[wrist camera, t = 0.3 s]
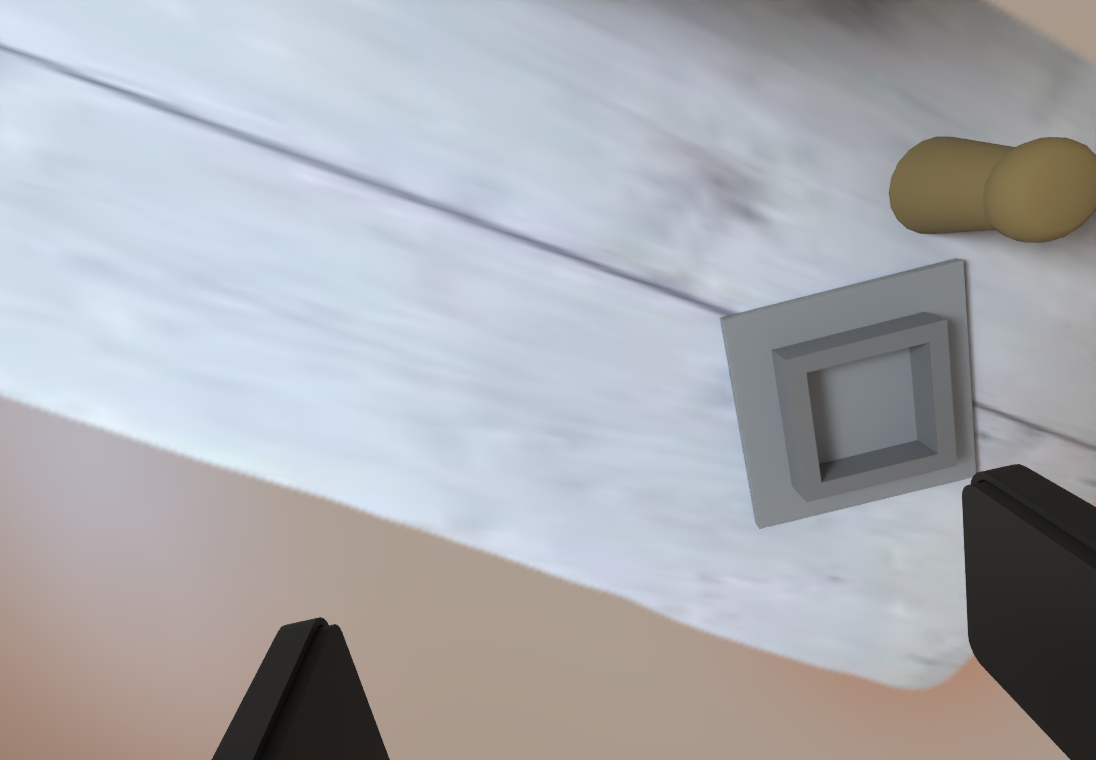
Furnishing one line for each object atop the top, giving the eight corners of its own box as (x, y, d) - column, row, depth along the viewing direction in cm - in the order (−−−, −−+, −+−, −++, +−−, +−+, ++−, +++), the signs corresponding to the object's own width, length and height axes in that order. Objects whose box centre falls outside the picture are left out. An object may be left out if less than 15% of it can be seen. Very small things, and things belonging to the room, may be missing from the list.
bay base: (720, 317, 46) (735, 329, 42) (955, 258, 45) (988, 265, 42) (755, 523, 50) (771, 547, 47) (969, 471, 50) (999, 491, 47)
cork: (904, 249, 45) (1023, 275, 34) (876, 163, 43) (993, 162, 33) (992, 208, 44) (1140, 221, 34) (968, 118, 43) (1116, 103, 32)
